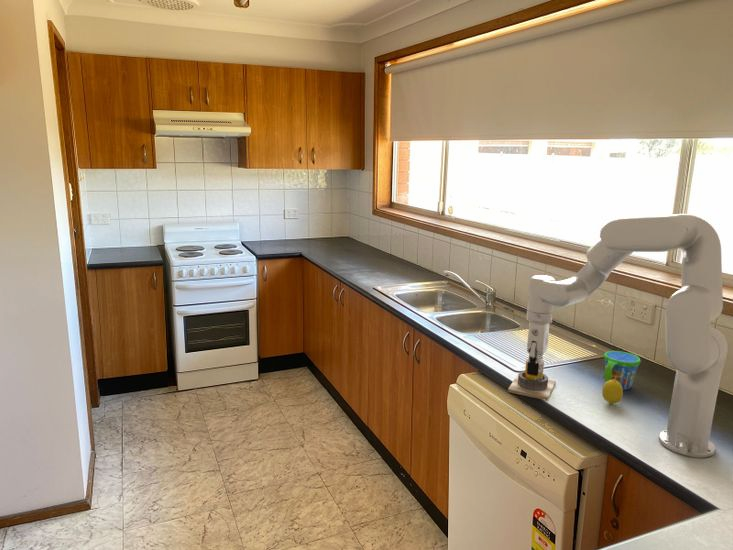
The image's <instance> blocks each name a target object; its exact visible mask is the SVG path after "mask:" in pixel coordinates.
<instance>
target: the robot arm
mask: <svg viewBox="0 0 733 550" xmlns="http://www.w3.org/2000/svg"><path fill="white" fill-rule="evenodd" d="M674 250H681V251H682V260H681V265H680V267H681V268H680V272H681V273H680V274H681V275H680V276H681V282H680V283H681V287H680V289H678V290H677V291H675V292H674V293H673V294H671V295H670V297H669V299H668V300H667V304H666V307H665V344H666V345H665V347H666V348H665V350H666V356H667V358H668V361H669V363H670V364H671V366H672V367H673V368H674V369H675V370H676V371H675V376H674V382H673V387H672V388H673V389H672V395H671V400H670V401H671V402H670V408H669V413H668V419H667V426H666V429H664V430H662V431H660V432H659V433H658V441H659V443H660V444H661V445H662V446H664V448H667V449H668V450H670V451H672V452H674V453H677V454H680V455H683V456H687V457H692V458H709V457H712V456H713V455H714V454H715V452H716V447H715V445H714V443H713V442H712V441H710V437H711V432H712V426H713V419H714V414H715V408H716V403H717V397H718V392H719V388H720V384H721V383H720V382H721V379H722V374H723V370H724V366H725V362H726V360H727V356H728V355H727V354H728V349H729V348H728V347H729V345H728V342H727V339H726V337H725V336H724V334H723V333H722V332H721V331H719V330H718V329H716V328H715V327H712V325H711V322H712V321H714V320H715V319H717V318H718V317H719V316H720V315H721V314H722V312H723V309H724V299H723V298H724V297H723V293H724V292H723V271H722V270H723V268H722V244H721V241H720V236H719V235H718V232H717V231H716V230H715V228H714V227H713V225H711V224H710V223H709V222H708V221H706V220H705V219H703V218H700V217H698V216H696V215H693V214H689V213H688V214H687V213H676V214H675V213H674V214H670V215H663V216H649V217H648V216H647V217H638V216H635V215H626V216H618V217H614V218H610V219H609V220H607V221H606V222H605V223H604V224H603V226H602V227H601V229H600V232H599V239H598V240H597V241H596V242H595V243H593V245H591V246H590V247H589V249H587V251H586V254H585V256H586V259H587V261H586V262H585V264H584V266H583V267H581V269H579V270H578V271H577V273H575V274H574V275H573V276H572V277H570V278H566V279H563V280H562V279H561V280H558V281H556V279H555V278H554V277H553V276H549V275H543V274H538V275H537V274H535V275H533V276H531V277H530V279H529V286H528V287H529V288H528V297H527V308H526V309H527V310H526V321H528V322H529V324H528V325H529V326H528V332H527V333H528V335H527V343H526V352H527V354H528V357H529V359H528V367H527V374H529V375H534V376H537V375H538V368H539V363H538V359H539V354H541V355H542V359H543V355H545V353H546V352H547V350H548V348H549V336H550V334H549V333H550V324H552V323H553V314H554V313H553V312H554V307H558V308H565V307H568V306H571V305H574V304H577V303H580V302H583V301H585V300H586V299H587V298H588V297H590V296H591V295H592V294H593V293H594V292H595V291H596V290H597V289H599V288H600V287H601V286H602V285H603V283H605V281H607V279H608V277H609V276H610V275H611V272H613V271H615V269H616V268H617V267H618V266H620V265H621V264H622V263H623V262H624V261H625V260H626V259H627V258H629V256H630V255H632V254H633V253H634V252H637V253H640V252H641V253H642V252H643V253H644V252H646V253H647V252H648V253H664V252H671V251H674ZM535 351H537V352H538V353H535ZM535 355H537V356H536V357H535ZM543 360H544V359H543Z"/></svg>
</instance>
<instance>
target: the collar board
mask: <svg viewBox="0 0 733 550" xmlns="http://www.w3.org/2000/svg"><path fill="white" fill-rule="evenodd" d="M556 384H557V383H556V380H551V379H549V377H548V376H547V374H545V373H543V379H542V380H529V379H527V378H525V370H522V371H519V373H517V374H516V376H515V378H514V379H513V381H512V383H510V385H509V387H508V388H507V393H512V394H515V395H519V396H525V397H530V398H535V399H540V400H543V399H545V400H544V401H547V400H548V401H549V399H550V397H551V395H552V392H553V391H554V388H555V386H556Z"/></svg>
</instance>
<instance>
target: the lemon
mask: <svg viewBox="0 0 733 550" xmlns="http://www.w3.org/2000/svg"><path fill="white" fill-rule="evenodd" d="M601 393H602V397H603V399H604V400H605V402H607V403H608V404H609V405H614V404H618V403H619V402H620V401H621V400H622V399H623V394H624V390H623V388H622V385H621V384H620V383H619V382H618V381H616V380H615V379H613V380H609V381H607V382H606V381H605V383H604V384H603V387H602V391H601Z"/></svg>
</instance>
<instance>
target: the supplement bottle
mask: <svg viewBox="0 0 733 550" xmlns="http://www.w3.org/2000/svg"><path fill="white" fill-rule="evenodd" d="M535 353H538V352H537V351H535ZM536 356H537V355H535V357H536ZM542 357H543V355H541V354H539V359H538V363H539V368H538V375H537V376H534V375H529V374H527V367H528V359H529V356H528V357H527V358H526V361H525V367H524V371H525V378H527V379H529V380H542V379H543V374H544V367H545V361H544V359H542Z"/></svg>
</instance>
